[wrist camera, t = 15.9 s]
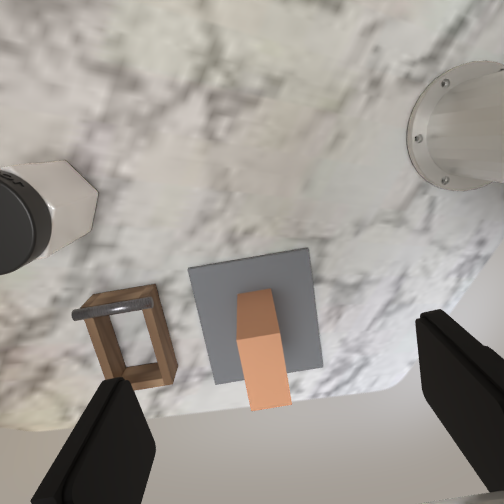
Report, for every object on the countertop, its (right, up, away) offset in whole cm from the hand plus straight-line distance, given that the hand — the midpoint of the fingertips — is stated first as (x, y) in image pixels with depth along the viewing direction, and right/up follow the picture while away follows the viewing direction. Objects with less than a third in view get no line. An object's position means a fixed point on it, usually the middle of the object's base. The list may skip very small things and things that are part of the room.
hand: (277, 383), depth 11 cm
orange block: (0, -4, +31) cm, 31 cm away
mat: (0, -4, +31) cm, 32 cm away
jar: (-22, +10, +27) cm, 36 cm away
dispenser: (-15, -6, +31) cm, 35 cm away
